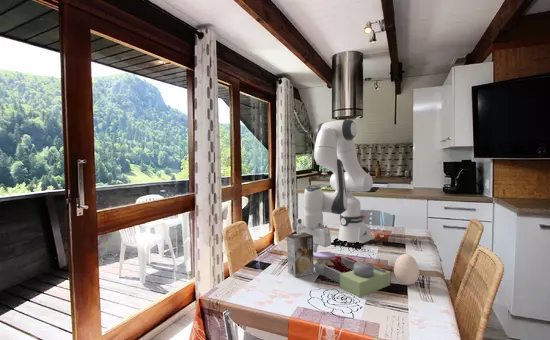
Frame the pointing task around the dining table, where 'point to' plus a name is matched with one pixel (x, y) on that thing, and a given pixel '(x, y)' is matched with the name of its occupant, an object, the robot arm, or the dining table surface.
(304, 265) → the coffee box
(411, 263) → the egg
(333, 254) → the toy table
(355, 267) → the green block with dome
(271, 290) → the dining table surface
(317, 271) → the chute mount
